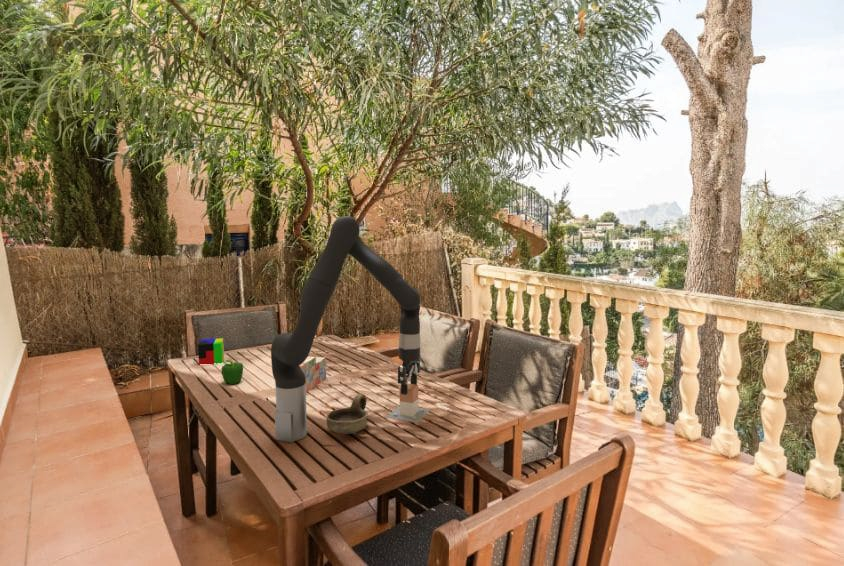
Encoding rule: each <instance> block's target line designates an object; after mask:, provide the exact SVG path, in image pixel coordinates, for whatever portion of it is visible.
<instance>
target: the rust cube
mask: <svg viewBox="0 0 844 566" xmlns="http://www.w3.org/2000/svg"><path fill="white" fill-rule="evenodd" d="M407 384H408V393H407V394H406V395H404V394H401V386H400V387H399V402H400V401H401V402H407V403H414V402H415V401H416V400H417V399H418V400H419V384H417V385H416V384H411V383H409V382H408V383H407Z"/></svg>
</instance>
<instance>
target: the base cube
mask: <svg viewBox="0 0 844 566" xmlns="http://www.w3.org/2000/svg"><path fill="white" fill-rule="evenodd" d="M399 405H400V415H404V416H410V417H413V416H414V415H415V414H416V413H417V412H418V407H419V398H418V399H417V400H416V401H415V402H414V403H407V402H401V401H400V400H399Z"/></svg>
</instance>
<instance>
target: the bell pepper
mask: <svg viewBox="0 0 844 566" xmlns="http://www.w3.org/2000/svg"><path fill="white" fill-rule="evenodd" d="M225 362H226V363H225V364H224V365H222V367H221V375H222V379H223V381H224V383H225V382H226V384H230V385H236V383H237V384H239V383H240V382H241V380H242V377H243V373H244V364H243V363H242V362H241V363H239V362H234V361H233V360H231V359H225ZM228 362H229V363H228Z"/></svg>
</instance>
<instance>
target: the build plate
mask: <svg viewBox="0 0 844 566" xmlns="http://www.w3.org/2000/svg"><path fill="white" fill-rule="evenodd" d="M430 411H431V409H430V408H425V407H419V406H418V412H417V413H416V414H415V415H414V416H413V417H410V416H404V415H400V404H399V405H398V406H397V407H395V408H394V409H393V410H392V411H391V412H390V413H389V414H388V415H387V416H386V418H389V419H393V420H394V419H395V420H399V421H406V422H411V423H416V424H419V423H420V422H421V421H422V419H424V418H425V416H427V414H428V413H429V412H430Z"/></svg>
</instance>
